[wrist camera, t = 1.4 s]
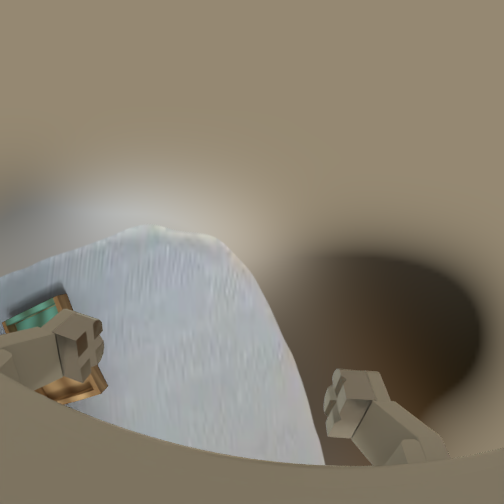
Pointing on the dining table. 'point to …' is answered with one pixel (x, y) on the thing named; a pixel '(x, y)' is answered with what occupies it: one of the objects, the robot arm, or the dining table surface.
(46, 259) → the dining table surface
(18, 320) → the rack
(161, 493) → the robot arm
